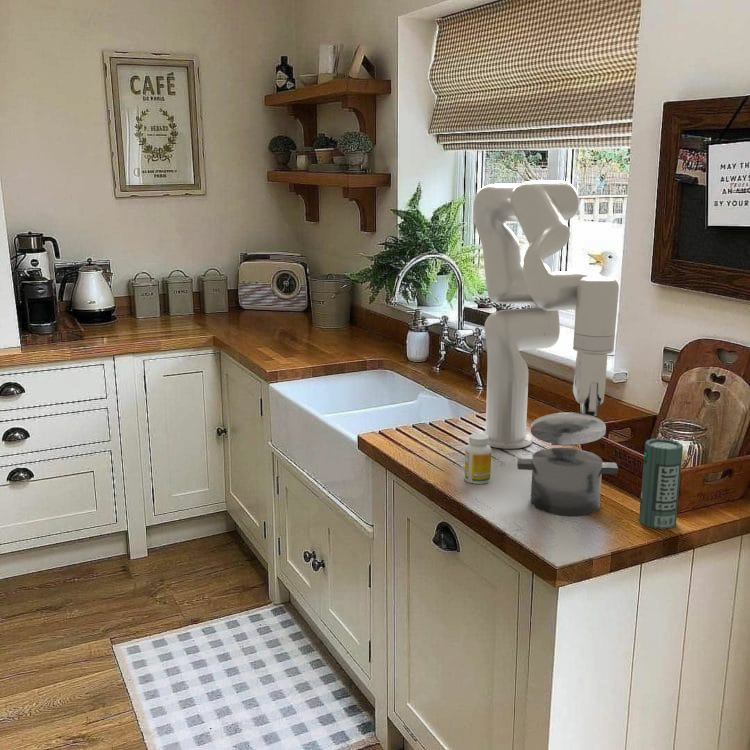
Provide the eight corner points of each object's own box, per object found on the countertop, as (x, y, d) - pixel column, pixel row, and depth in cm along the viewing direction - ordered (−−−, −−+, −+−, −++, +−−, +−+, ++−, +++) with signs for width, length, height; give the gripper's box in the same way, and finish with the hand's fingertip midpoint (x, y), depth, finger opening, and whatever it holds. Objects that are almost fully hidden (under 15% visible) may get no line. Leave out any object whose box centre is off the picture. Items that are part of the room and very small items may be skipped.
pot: (515, 488, 167) (517, 445, 165) (609, 492, 164) (612, 450, 162) (516, 513, 155) (518, 467, 152) (619, 518, 152) (622, 472, 150)
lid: (528, 444, 166) (528, 432, 167) (600, 447, 164) (599, 435, 165) (533, 416, 153) (533, 403, 154) (610, 419, 151) (610, 406, 152)
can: (664, 514, 154) (671, 438, 150) (681, 527, 148) (688, 448, 145) (634, 516, 153) (640, 439, 150) (649, 530, 147) (656, 450, 144)
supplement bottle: (459, 480, 171) (460, 436, 169) (474, 473, 175) (475, 430, 173) (480, 486, 168) (481, 441, 166) (495, 479, 172) (497, 435, 169)
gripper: (569, 333, 165) (563, 421, 169) (577, 350, 150) (570, 445, 155) (608, 334, 164) (601, 422, 168) (620, 352, 149) (611, 447, 154)
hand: (586, 433), depth 162 cm, fingers closed
